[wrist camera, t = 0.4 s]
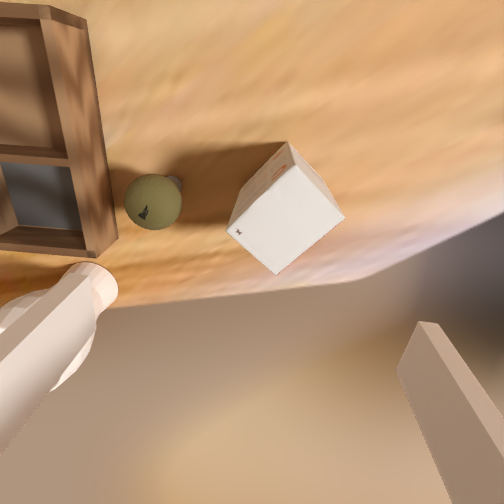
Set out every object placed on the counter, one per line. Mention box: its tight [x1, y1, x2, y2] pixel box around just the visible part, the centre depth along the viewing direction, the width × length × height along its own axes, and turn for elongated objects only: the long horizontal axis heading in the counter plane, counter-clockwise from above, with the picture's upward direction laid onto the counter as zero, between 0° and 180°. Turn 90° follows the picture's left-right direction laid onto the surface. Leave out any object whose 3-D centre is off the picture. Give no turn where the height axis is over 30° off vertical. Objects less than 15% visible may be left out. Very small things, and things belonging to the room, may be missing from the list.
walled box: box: [0, 2, 118, 259], centre depth 34 cm, size 24×14×6 cm, turn 176°
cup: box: [0, 262, 118, 391], centre depth 39 cm, size 11×11×15 cm
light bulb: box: [124, 174, 182, 230], centre depth 34 cm, size 6×6×10 cm
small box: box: [226, 142, 345, 275], centre depth 32 cm, size 8×6×13 cm
